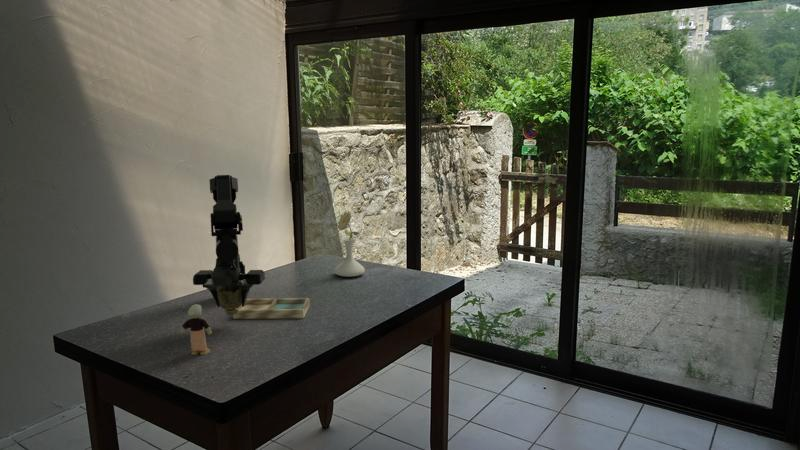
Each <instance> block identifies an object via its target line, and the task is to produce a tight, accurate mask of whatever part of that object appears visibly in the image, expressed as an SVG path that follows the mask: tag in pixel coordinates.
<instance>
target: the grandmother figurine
mask: <svg viewBox="0 0 800 450" xmlns="http://www.w3.org/2000/svg"><path fill="white" fill-rule="evenodd" d="M202 310H203V309H202V305H201V304H197V303H195V304H193V305H191V306H190V307H189V309H188V311H187V313H186V314H187V315H188V316H190V317H191V318H189V319H187V320H185V322H184V323H183V324H182V326H181V327H182V328H181V330H180V333H182V334H185V333H186V330H187V329H188V330H189V329H190V331H189V332H190V334H189V337H190V338H189V339H190V340H189V341H190V345H191V355H192V356H196V355H198V354H199V355H201V356H205V355H207V354H209V353H211V349H210V348H208V347H207V339H206V333H205V331H206V332H207V335H212V333H213V332H212V330H211V327H210V325H209V323H208V322H207V321H206V320H205V319H204V318H201V316H202Z"/></svg>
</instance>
